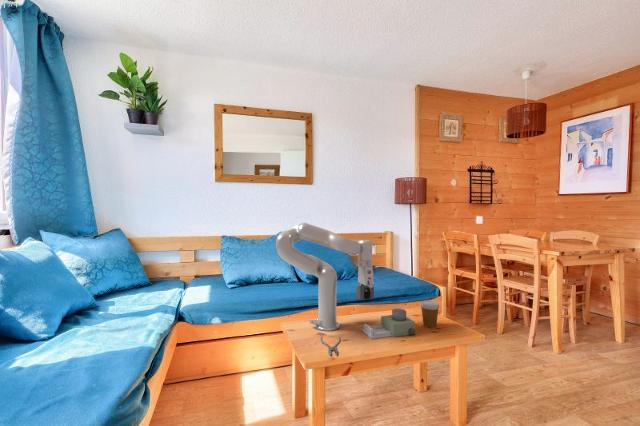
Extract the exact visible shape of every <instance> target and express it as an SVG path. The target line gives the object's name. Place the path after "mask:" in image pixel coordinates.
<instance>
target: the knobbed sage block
mask: <svg viewBox="0 0 640 426" xmlns="http://www.w3.org/2000/svg"><path fill="white" fill-rule="evenodd" d="M415 325H416V323H415V321H414V320H412V319H411V318H409V317H407V310H405V309H402V308H393V309H392V310H391V314H389V315H382V316H380V325H372V326H370V325H368V324H367V323H363V328H362V332H363V333H364V334H365V335H366V336H367V337H368V338H369V339H371V340H374V339H381V338H388V337H392V338H397V337H402V336H409V335H411V336H414V335H416V329H415V328H416V326H415Z"/></svg>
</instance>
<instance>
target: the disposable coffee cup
mask: <svg viewBox="0 0 640 426" xmlns="http://www.w3.org/2000/svg"><path fill="white" fill-rule="evenodd" d="M420 308H421V317H422V323H423V327H426V328H429V329H434V328H436V327H437V322H438V315H439V308H440V305H439V303H438V302H437V301H433V300H422V301H421V302H420Z"/></svg>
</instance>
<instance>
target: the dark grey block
mask: <svg viewBox="0 0 640 426" xmlns="http://www.w3.org/2000/svg"><path fill="white" fill-rule="evenodd" d="M367 287H368V286H367ZM355 288H356V289H355V295H356V296H355V298H357V299H358V300H359V301H362V300H365V299H364V291H365V285H364V286H360V285H356V287H355ZM372 299H373V300H374V299H375V287H374V285H372V288H371V291H370V299H369V300H372Z"/></svg>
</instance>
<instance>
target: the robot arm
mask: <svg viewBox="0 0 640 426" xmlns="http://www.w3.org/2000/svg"><path fill="white" fill-rule="evenodd" d="M302 240H305V241H308V242H311V243H314V244H317V245H320V246H323V247H326V248H328V249H331V250H335V251H338V252H341V253H343V254H346V255H350V256H357V267H358V271H357V281H358V284H359V285H358V286H364V285H365V291H364V300H371V299H370V291H371V288H372V286H374V281H375V280H374V270H373V269H374V268H373V241H372V240H370V239H351V238H347V237H344V236H341V235H339V234H337V233H334V232H333V231H330V230H328V229H325V228H322V227H318V226H315V225H314V224H311V223H308V222H301V223H298V224H297V225H295V226H293V227H290V228H288V229H286V230H283V231H281V232H280V233H279V234H278V236H276V240H275V241H276V243H275V248H276V253H277V255H278V256H279V258H281V260H283V261H284V262H285V263H287V264H289V265H291V266H293V267H294V268H296V269H298V270H300V271H301V272H303V273H304V274H306V275H313V276H315V277H316V278H317V280H318V287H317V288H318V290H317V291H318V293H317V294H318V295H317V296H318V297H317V298H318V302H317V303H318V308H317V309H318V316H316V318H314V319H309V324H310V325H312V326H315V328H316V329H318V330H319V331H325V332H326V331H328V332H330V331H336V330H338V329H339V328H340V323H339V322H338V321H337V288H338V287H337V286H338V275H337V272H336V269H334V267H333V266H332V265H331V264H329V263H327V262H326V261H324V260H322V259H321V258H319V257H318V256H315V255H313V254H309V253H307V254H306V253H304V252H302V251H301V250H299V249H297V248H296V247H294V245H293V244H295V243H298V242H301V241H302ZM367 286H368V287H367Z"/></svg>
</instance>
